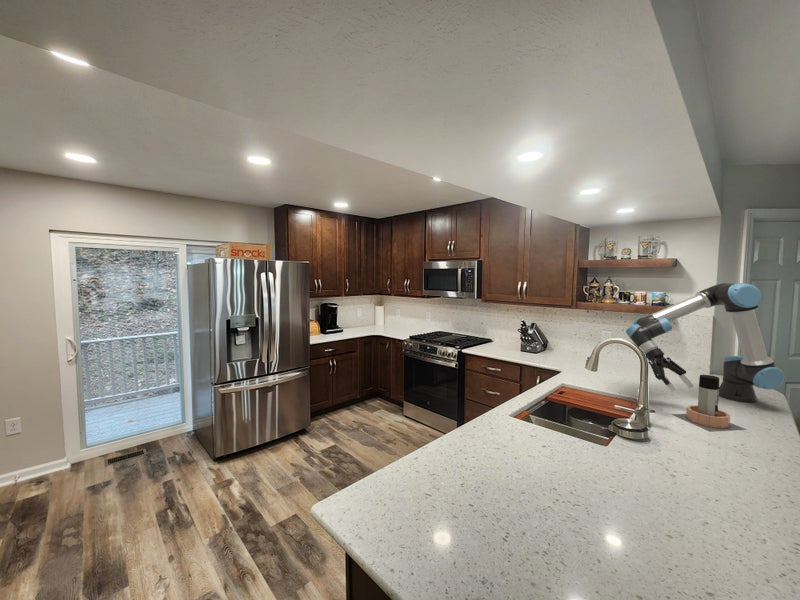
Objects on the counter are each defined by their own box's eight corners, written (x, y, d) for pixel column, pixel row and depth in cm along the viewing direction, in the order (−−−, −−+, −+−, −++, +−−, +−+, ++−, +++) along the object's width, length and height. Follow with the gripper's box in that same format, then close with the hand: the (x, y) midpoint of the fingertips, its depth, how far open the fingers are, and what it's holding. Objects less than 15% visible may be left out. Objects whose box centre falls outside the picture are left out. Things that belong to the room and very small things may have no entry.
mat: (704, 413, 159) (704, 412, 159) (747, 430, 141) (747, 429, 141) (670, 415, 157) (670, 414, 157) (709, 433, 140) (709, 431, 140)
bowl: (705, 414, 157) (705, 404, 157) (738, 427, 143) (738, 416, 143) (678, 415, 156) (679, 405, 155) (709, 429, 142) (709, 418, 141)
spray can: (718, 424, 145) (721, 379, 143) (697, 420, 149) (700, 376, 147) (715, 419, 150) (718, 376, 149) (696, 415, 154) (698, 373, 153)
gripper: (661, 353, 178) (692, 389, 165) (629, 357, 169) (660, 395, 156) (672, 345, 173) (706, 382, 160) (641, 349, 164) (673, 388, 151)
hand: (683, 388), depth 158 cm, fingers open, 13 cm apart
